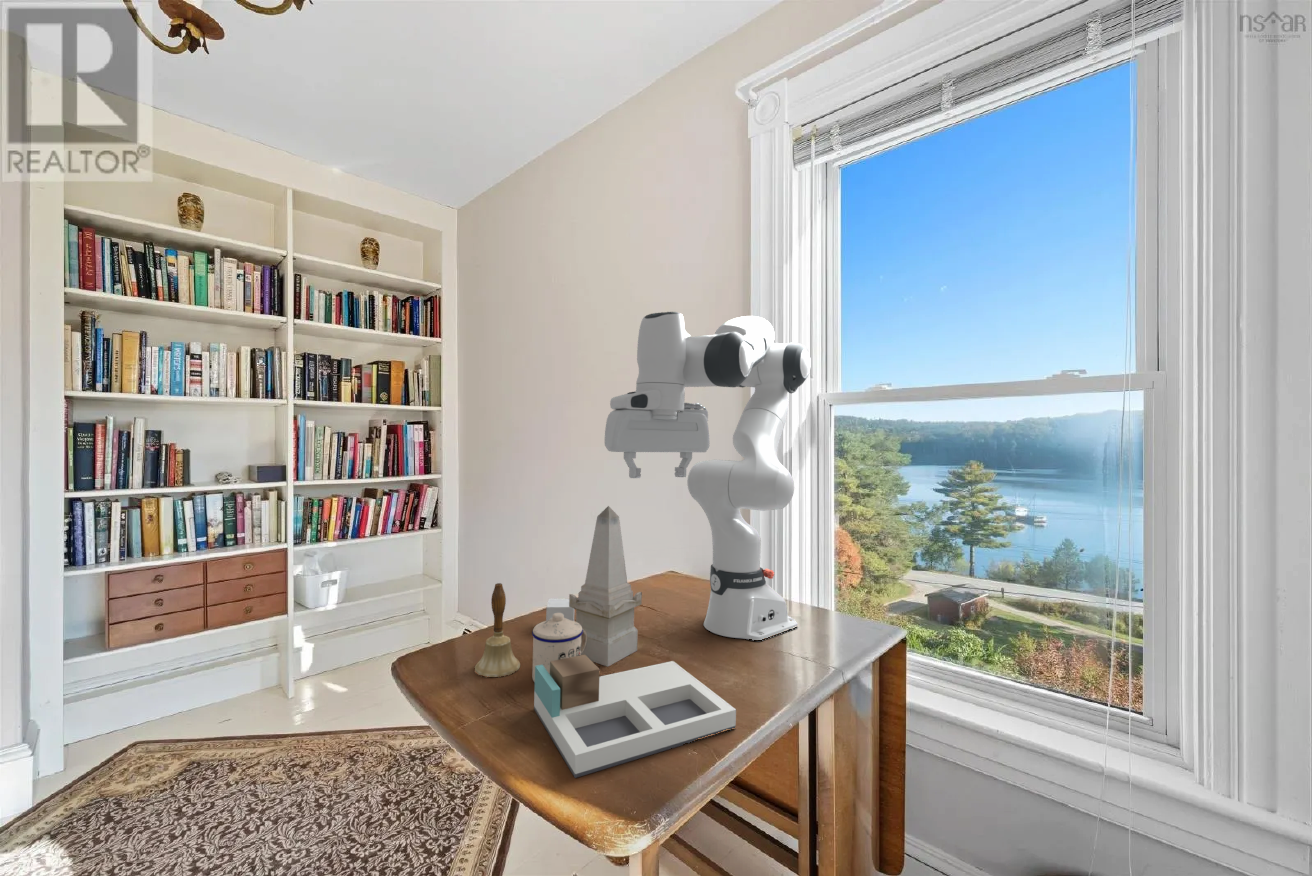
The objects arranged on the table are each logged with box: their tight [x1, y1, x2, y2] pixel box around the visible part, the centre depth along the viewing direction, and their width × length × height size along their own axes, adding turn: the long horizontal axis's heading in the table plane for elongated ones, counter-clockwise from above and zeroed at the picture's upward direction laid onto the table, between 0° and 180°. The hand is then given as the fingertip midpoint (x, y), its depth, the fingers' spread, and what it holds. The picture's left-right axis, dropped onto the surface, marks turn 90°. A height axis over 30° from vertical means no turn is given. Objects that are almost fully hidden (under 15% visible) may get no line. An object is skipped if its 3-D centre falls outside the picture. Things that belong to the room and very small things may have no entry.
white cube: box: [545, 598, 575, 621], centre depth 120 cm, size 6×6×6 cm
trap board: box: [533, 660, 737, 779], centre depth 83 cm, size 26×19×7 cm
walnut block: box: [550, 655, 601, 710], centre depth 84 cm, size 6×6×5 cm
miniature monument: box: [568, 505, 643, 667], centre depth 108 cm, size 10×10×30 cm
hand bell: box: [474, 582, 521, 678], centre depth 100 cm, size 8×8×16 cm
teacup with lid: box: [531, 613, 587, 683], centre depth 98 cm, size 12×9×12 cm
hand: (658, 477), depth 96 cm, fingers open, 8 cm apart
